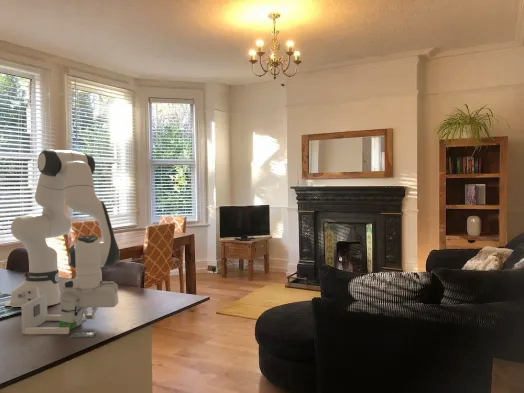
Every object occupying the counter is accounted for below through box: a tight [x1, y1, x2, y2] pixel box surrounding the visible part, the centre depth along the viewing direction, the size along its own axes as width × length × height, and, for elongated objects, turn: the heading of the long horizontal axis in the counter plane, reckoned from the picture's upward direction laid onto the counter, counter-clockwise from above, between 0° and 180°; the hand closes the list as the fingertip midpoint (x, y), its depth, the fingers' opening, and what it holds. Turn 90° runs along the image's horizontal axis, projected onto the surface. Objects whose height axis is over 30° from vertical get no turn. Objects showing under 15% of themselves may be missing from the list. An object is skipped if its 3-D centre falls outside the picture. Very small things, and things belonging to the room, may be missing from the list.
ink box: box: [58, 294, 84, 331], centre depth 166 cm, size 9×5×12 cm, turn 174°
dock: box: [20, 294, 87, 335], centre depth 167 cm, size 16×16×10 cm
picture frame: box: [67, 331, 97, 339], centre depth 157 cm, size 8×4×1 cm, turn 92°
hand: (90, 319), depth 166 cm, fingers closed
